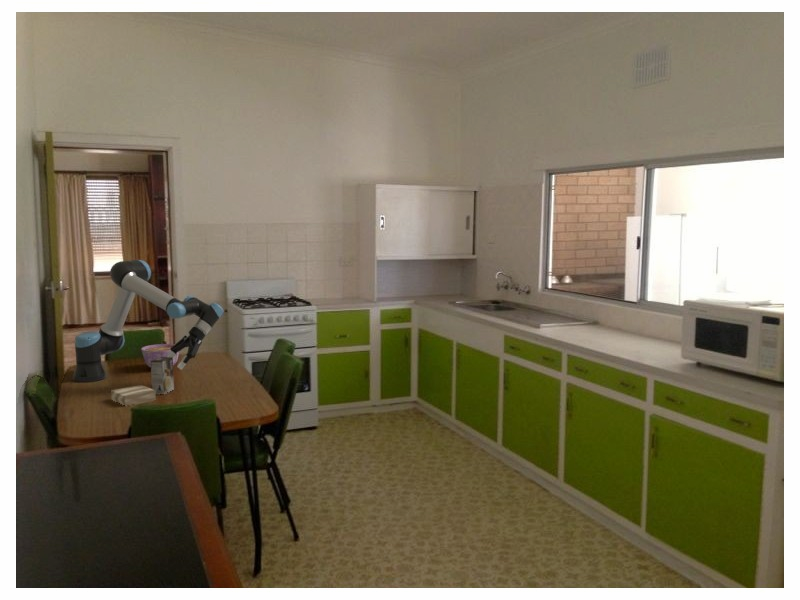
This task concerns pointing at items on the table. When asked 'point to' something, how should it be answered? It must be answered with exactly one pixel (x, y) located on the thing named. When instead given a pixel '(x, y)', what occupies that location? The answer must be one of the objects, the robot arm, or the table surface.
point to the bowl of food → (157, 352)
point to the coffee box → (162, 375)
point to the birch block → (133, 395)
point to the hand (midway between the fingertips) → (172, 365)
